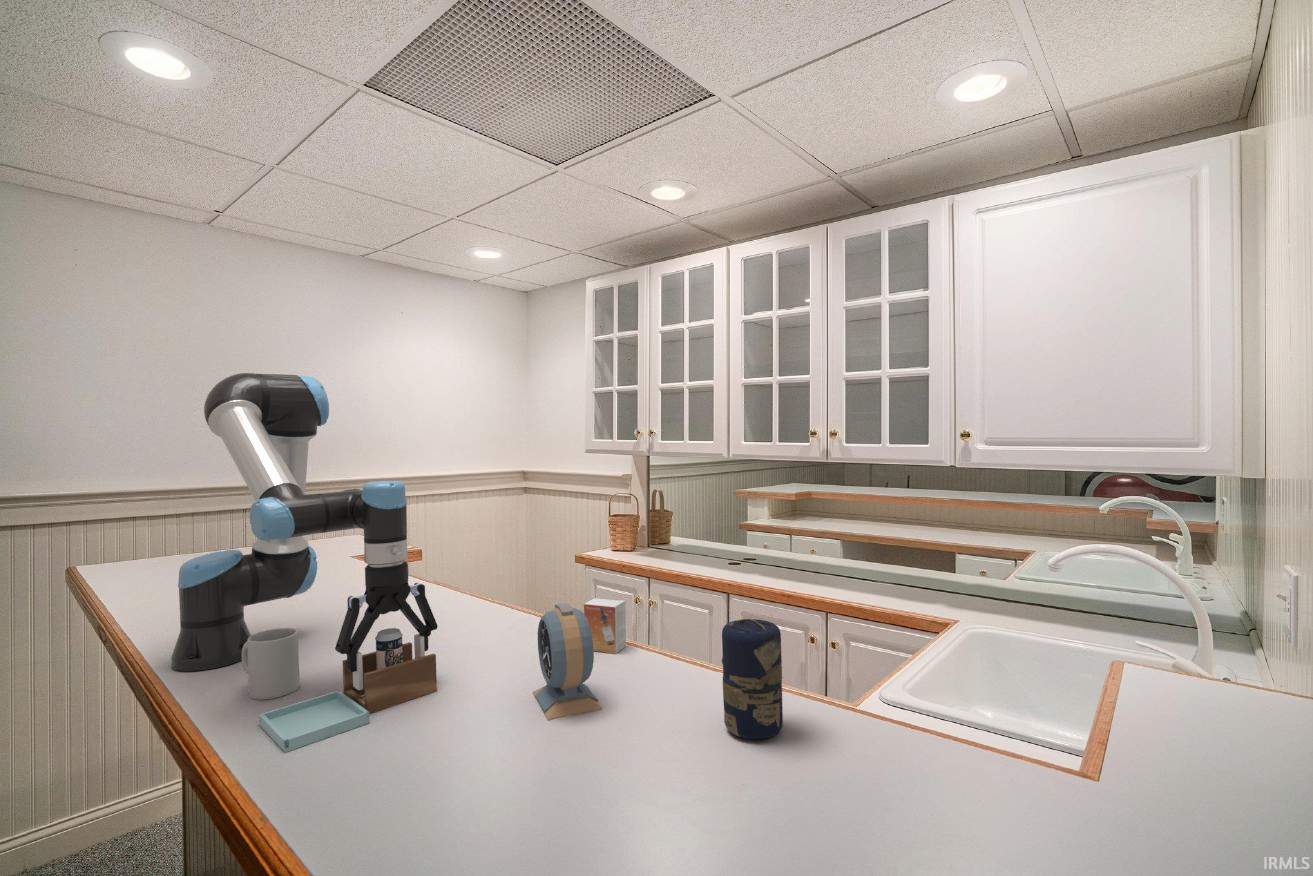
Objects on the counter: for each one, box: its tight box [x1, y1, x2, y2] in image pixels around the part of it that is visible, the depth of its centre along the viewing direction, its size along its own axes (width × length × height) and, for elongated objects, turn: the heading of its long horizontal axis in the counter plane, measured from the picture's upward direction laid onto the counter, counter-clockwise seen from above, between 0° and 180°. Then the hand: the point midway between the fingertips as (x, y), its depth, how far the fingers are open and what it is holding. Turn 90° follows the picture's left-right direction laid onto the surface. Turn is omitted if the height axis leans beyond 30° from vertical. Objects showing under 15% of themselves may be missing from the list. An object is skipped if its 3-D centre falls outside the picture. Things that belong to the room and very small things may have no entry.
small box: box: [583, 597, 627, 655], centre depth 141 cm, size 8×6×10 cm
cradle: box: [342, 642, 438, 714], centre depth 119 cm, size 11×13×7 cm
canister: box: [721, 618, 784, 740], centre depth 101 cm, size 10×10×18 cm
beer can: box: [375, 627, 403, 670], centre depth 119 cm, size 5×5×12 cm
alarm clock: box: [532, 602, 603, 721], centre depth 114 cm, size 14×10×18 cm
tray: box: [258, 690, 371, 753], centre depth 107 cm, size 14×13×2 cm
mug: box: [241, 627, 301, 701], centre depth 122 cm, size 12×8×11 cm
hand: (390, 678), depth 119 cm, fingers open, 11 cm apart
